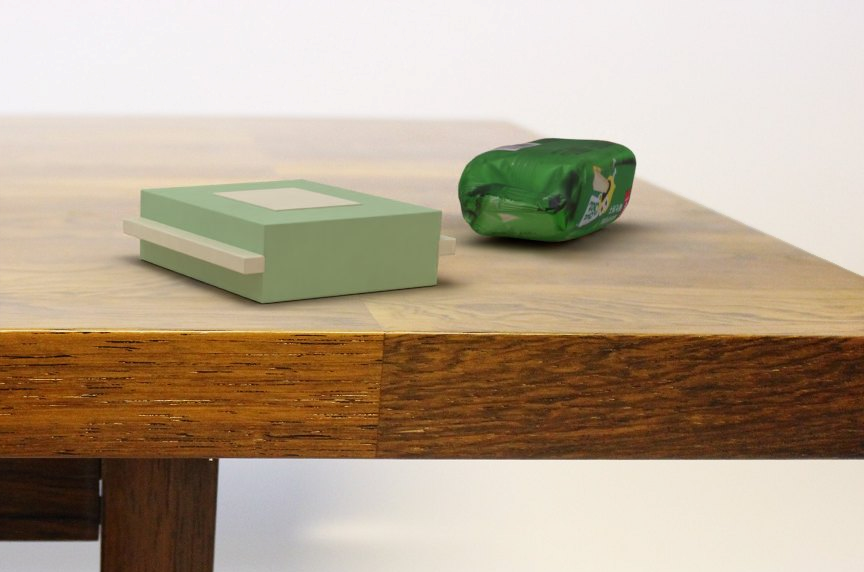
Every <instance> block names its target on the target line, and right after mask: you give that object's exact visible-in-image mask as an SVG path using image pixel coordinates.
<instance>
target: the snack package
mask: <svg viewBox="0 0 864 572" xmlns="http://www.w3.org/2000/svg"><path fill="white" fill-rule="evenodd" d="M636 169H637V157H636V155H635V153H634V151H632V150H631V148H629V147H628V146H625V145H623V144H621V143H617V142H616V141H615V142H614V141H609V140H603V139H584V138H583V139H581V138H579V139H578V138H560V137H545V138H538V139H534V140H532V141H527V142H523V143H517V144H510V145H509V144H508V145H502V146H498V147H495V148H493V149H490V150H488V151H485V152H482V153H480V154H478V155H476V156H474V158H472V159H471V160H470V161H469V162H468V163H467V164H466V165H465V166H464V169H463V171H462V173H461V176H460V178H459V180H458V184H457V197H458V201H459V205H460V211H461V215H462V217H463V219H464V221H465V222H466V223H467V224H468V226H469V227H470V229H471V230H472V231H473V232H474V233H476V234H479V235H481V236H486V237H497V238H512V239H522V240H531V241H540V242H551V243H554V242H555V243H556V242H564V241H565V242H566V241H570V240H574V239H578V238H582V237H584V236H587V235H589V234H592V233H595V232H596V231H598V230H600V229H602V228H604V227H606V226H608V225H610V224H612V223H613V222H615V221H616V220H617V219H619V218H620V217H621V216H622V214H624V211H625V210H626V209H627V206H628V205H629V202H630V199H631V195H632V190H633V185H634V180H635V175H636Z"/></svg>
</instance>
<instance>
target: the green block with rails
mask: <svg viewBox="0 0 864 572" xmlns="http://www.w3.org/2000/svg"><path fill="white" fill-rule="evenodd" d="M139 200H140V202H139V204H140V209H139V213H140V215H139V216H131V217H123V219H122V224H123V225H122V233H123V234H125V235H127V236H131V237H134V238H137V239H139V259H140V260H142V261H145V262H147V263H150V264H153V265H156V266H159V267H161V268H164V269H167V270H170V271H172V272H175V273H177V274H181V275H183V276H186V277H189V278H192V279H194V280H196V281H200V282H203V283H205V284H208V285H211V286H213V287H216V288H219V289H222V290H225V291H227V292H230V293H233V294H234V295H235V294H236V295H238V296H241V297H244V298H246V299H249V300H252V301H254V302H257V303H260V304H270V303H278V302H279V303H280V302H289V301H298V300H308V299H316V298H317V299H318V298H327V297H335V296H336V297H337V296H345V295H346V296H347V295H354V294H355V295H356V294H364V293H375V292H382V291H393V290H402V289H410V288H411V289H412V288H422V287H429V286H430V287H431V286H437V284H438V272H439V271H438V270H439V259H440V258H439V257H445V256H455V255H456V248H457V238H455V237H451V236H447V235H445V234H444V235H443V234H441V232H442V231H441V230H442V219H443V211H442V210H440V209H436V208H432V207H427V206H423V205H419V204H414V203H409V202H405V201H401V200H395V199H392V198H387V197H383V196H379V195H373V194H369V193H365V192H360V191H356V190H352V189H347V188H343V187H339V186H335V185H329V184H326V183H321V182H316V181H312V180H307V179H303V178H302V179H287V180H271V181H269V180H268V181H254V182H253V181H252V182H237V183H222V184H221V183H220V184H207V185H188V186H175V187H172V186H171V187H157V188H141V189H140V199H139Z"/></svg>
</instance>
